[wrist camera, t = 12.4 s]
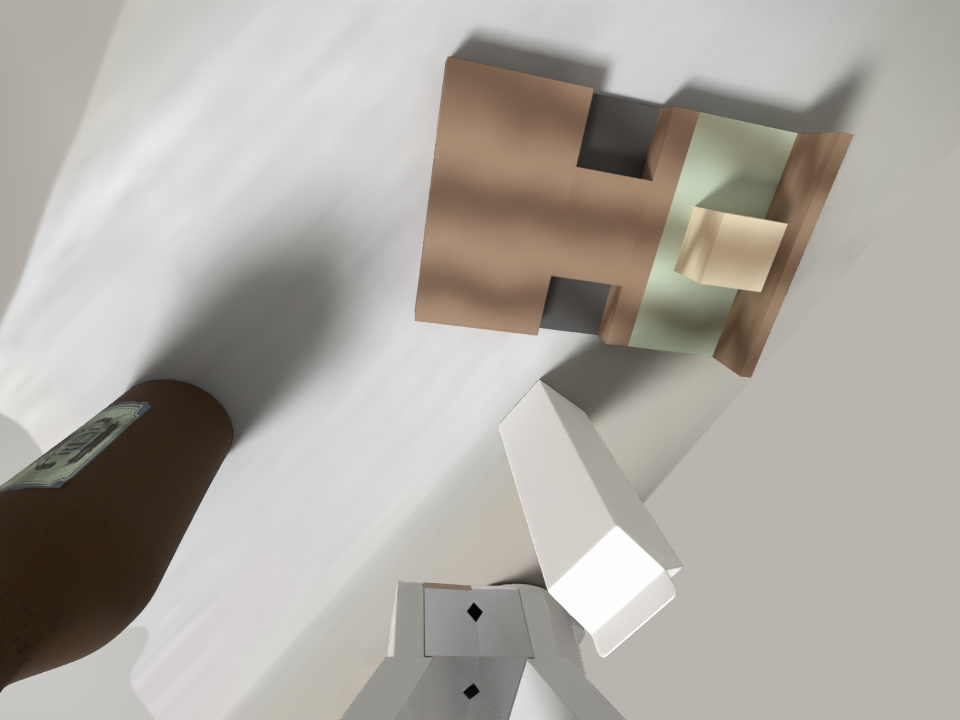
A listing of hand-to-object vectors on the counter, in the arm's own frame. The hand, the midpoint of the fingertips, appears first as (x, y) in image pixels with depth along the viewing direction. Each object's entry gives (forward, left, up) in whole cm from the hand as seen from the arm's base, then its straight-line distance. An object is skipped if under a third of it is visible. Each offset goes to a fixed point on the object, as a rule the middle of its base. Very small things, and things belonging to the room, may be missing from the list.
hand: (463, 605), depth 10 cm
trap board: (+5, -13, -32) cm, 35 cm away
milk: (-13, -12, -32) cm, 37 cm away
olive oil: (-17, +20, -32) cm, 41 cm away
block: (+5, -22, -29) cm, 37 cm away
